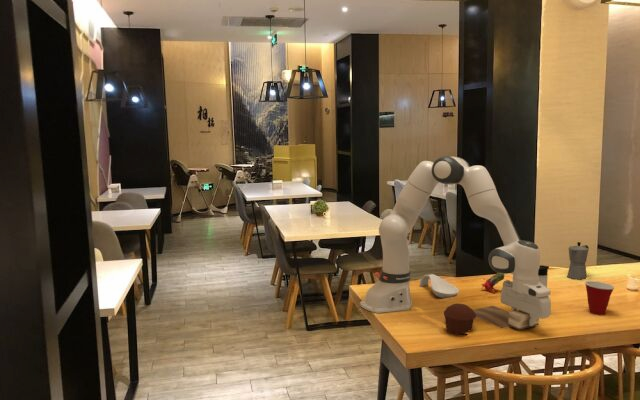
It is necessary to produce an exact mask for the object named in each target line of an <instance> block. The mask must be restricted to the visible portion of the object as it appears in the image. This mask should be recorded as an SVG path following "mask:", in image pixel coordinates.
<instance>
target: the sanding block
mask: <svg viewBox="0 0 640 400" xmlns="http://www.w3.org/2000/svg"><path fill="white" fill-rule="evenodd" d="M508 312H509V319H508V325H509V326H510V327H512V328H513V329H515V330H525V329H528V328H531V327H535V326H539V322H540V321H539V320H540V318H539V317H537V318H536V319H535V320H534V325H533V326H530V325H528V324H527V323H528V322H527V320H530V319H531V317H530V314H529V313H526V312H523V311H521V310H516V311H512V310H511V311H508Z"/></svg>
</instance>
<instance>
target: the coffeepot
mask: <svg viewBox="0 0 640 400" xmlns="http://www.w3.org/2000/svg"><path fill="white" fill-rule="evenodd" d="M576 243H577V245H571V246H569V247H568V254H569V255H568V256H569V261H570V263H569V268H568V270H567V271H568V272H567V278H568V279H570V278H571V279H570V280H575V279H577V281H583V280H582V279H586V278H587V277H588V274H587V266H586V262H587V259H588V256H589V255H588V253H589V246H588V244H585V245H582V242H580V241H577V242H576ZM586 280H587V279H586Z"/></svg>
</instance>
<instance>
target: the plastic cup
mask: <svg viewBox="0 0 640 400" xmlns="http://www.w3.org/2000/svg"><path fill="white" fill-rule="evenodd" d="M584 284H585V289H586V290H585V291H586V296H587V304H588V311H589V313H590V314H593V315H596V314H597V315H598V316H603V315H605V314H606V313H607V309H608V306H609V303H610V299H611V296H612V292H613V290H614V289H616V288H615V286H614V285H612V284H609V283H606V282H601V281H594V280H586V281H584Z"/></svg>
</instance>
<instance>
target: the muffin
mask: <svg viewBox="0 0 640 400" xmlns="http://www.w3.org/2000/svg"><path fill="white" fill-rule="evenodd" d="M473 310H474V309H472V308H471V307H469V306H468V305H467V304H465V303H464V304H463V303H452V304H450V305H448V306H447V307H446V308H445V309H444V311H443V315H444V318H445V326H446V332H447V333H449V334H450V335H455V336H458V337H459V336H460V337H461V336H462V337H463V336H465V337H466V336H469V334H467V333H468V332H470V331H472V330H473V327H474V326H473V324H474V320H475V319H476V314H475V312H474V311H473Z"/></svg>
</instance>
